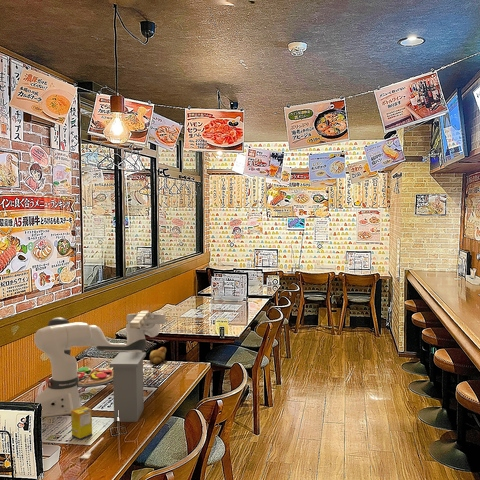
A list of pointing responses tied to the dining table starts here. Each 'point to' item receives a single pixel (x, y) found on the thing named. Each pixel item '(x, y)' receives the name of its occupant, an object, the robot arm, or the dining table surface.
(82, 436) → the supplement box
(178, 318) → the dining table surface
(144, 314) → the birch bar
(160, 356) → the bread roll
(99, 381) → the toy pizza
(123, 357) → the charcoal stand
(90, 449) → the fork
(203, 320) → the dining table surface
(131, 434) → the dining table surface
